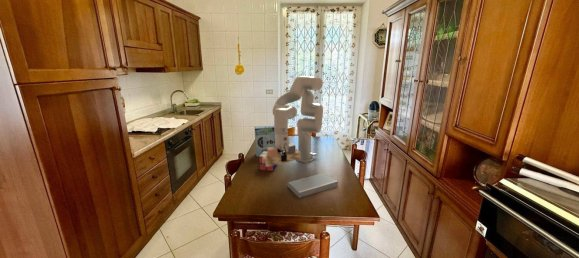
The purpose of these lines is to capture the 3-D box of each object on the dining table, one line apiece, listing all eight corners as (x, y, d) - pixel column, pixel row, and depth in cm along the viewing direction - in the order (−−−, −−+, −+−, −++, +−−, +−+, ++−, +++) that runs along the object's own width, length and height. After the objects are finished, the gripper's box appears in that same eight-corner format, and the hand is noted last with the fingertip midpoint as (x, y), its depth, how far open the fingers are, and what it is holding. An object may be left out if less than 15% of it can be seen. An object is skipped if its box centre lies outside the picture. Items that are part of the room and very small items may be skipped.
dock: (324, 176, 148) (324, 172, 147) (337, 186, 137) (337, 181, 136) (288, 186, 137) (288, 181, 136) (299, 197, 126) (299, 192, 125)
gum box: (279, 152, 189) (279, 124, 183) (281, 154, 184) (280, 126, 178) (255, 154, 185) (254, 126, 178) (256, 156, 180) (254, 128, 174)
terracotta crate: (274, 153, 137) (274, 146, 136) (277, 156, 133) (277, 148, 132) (267, 155, 135) (267, 147, 134) (270, 157, 131) (270, 150, 130)
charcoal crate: (291, 150, 142) (291, 143, 141) (295, 152, 138) (295, 145, 137) (285, 151, 140) (285, 144, 139) (288, 154, 136) (288, 146, 135)
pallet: (295, 155, 145) (295, 148, 144) (300, 159, 140) (300, 152, 139) (262, 162, 136) (262, 155, 134) (266, 166, 131) (266, 159, 129)
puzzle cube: (273, 171, 156) (273, 157, 153) (259, 170, 158) (258, 156, 155) (277, 165, 166) (277, 151, 163) (263, 163, 167) (263, 150, 165)
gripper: (294, 132, 127) (294, 163, 132) (280, 125, 142) (281, 153, 147) (281, 134, 123) (282, 166, 129) (269, 127, 138) (269, 155, 143)
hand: (281, 158), depth 138 cm, fingers closed on pallet, 6 cm apart
